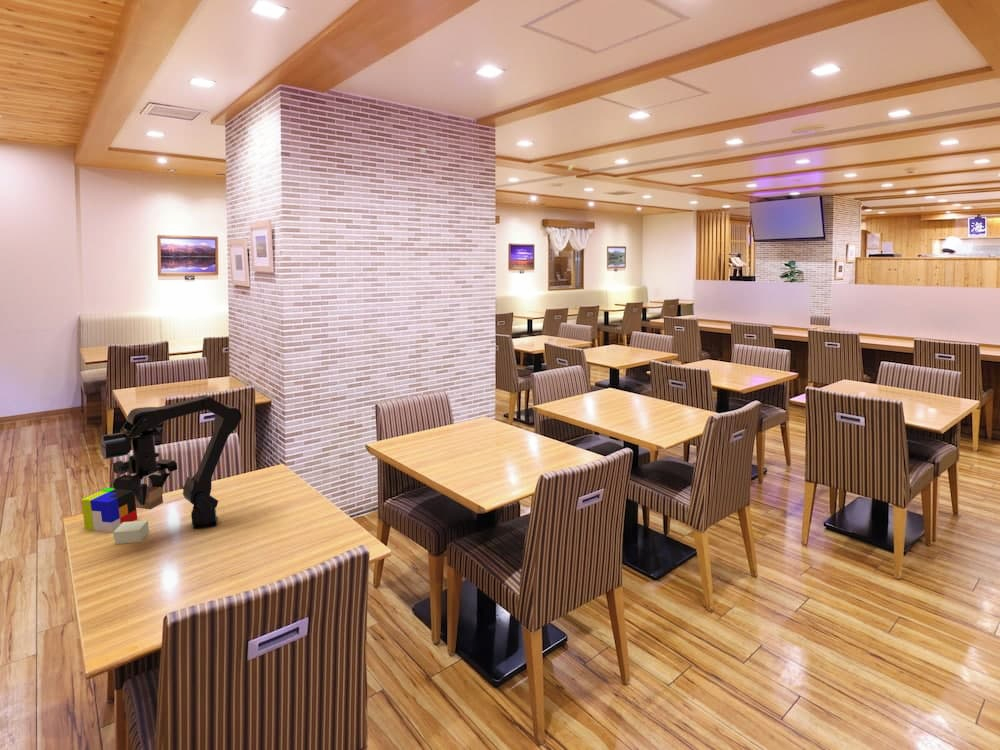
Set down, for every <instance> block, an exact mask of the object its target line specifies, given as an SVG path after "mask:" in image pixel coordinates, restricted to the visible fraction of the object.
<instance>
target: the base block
mask: <svg viewBox="0 0 1000 750" xmlns="http://www.w3.org/2000/svg"><path fill="white" fill-rule="evenodd" d="M149 529H150V528H149V521H148V520H135V521H133V522H123V523H122V524H121V525H120V526H119V527H118V528H117V529H116V530H115V531H114V532H112V534H113V541H114V544H115V545H118V544H119V545H120V544H131V543H134V544H135V543H141V542H142V541H143V540H144V539H145V538H146V536H147V535H148V534H149V533H150V530H149Z"/></svg>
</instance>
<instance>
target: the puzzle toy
mask: <svg viewBox="0 0 1000 750" xmlns="http://www.w3.org/2000/svg"><path fill="white" fill-rule="evenodd" d="M80 502H81V508H82V515H83V516H82V517H83V522H84V530H86V529H87V530H86V531H96V532H104V533H105V532H106V533H113V532H114V531H115V530H116V529H117V528H118V527H119V526H120V525H121V524H122V523H123V522H133V521H137V520H138V512H137V508H136V503H135V495H134V493H133V492H132V491H131V490H122V489H114V487H105V488H103V489H102V490H99V491H98V492H95V493H92V494H90V495H88V496H86V497H84V498H81V499H80Z"/></svg>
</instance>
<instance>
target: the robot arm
mask: <svg viewBox="0 0 1000 750" xmlns="http://www.w3.org/2000/svg"><path fill="white" fill-rule="evenodd" d="M202 411H208V412H210V413H212V414H214V418H213V419H214V420H213V433H212V435H211V438H210V439H209V442H208V445H207V447H206V450H205V452H204V455H203V457H202V459H201V460H200V464H199V466H198V468H197V471H196V473H195V474H194V475H193V476H192V477H189V476H187V477H186V480H185V483H184V486H182V488H181V489H182V490H183V492H182V495H183V497H184V499H185V500H187V501H188V502H189V503H190V504H192V510H191V514H190V515H191V523H192V526H193V529H203V528H210V527H216V526H217V524H218V516H217V509H216V508H217V507H218V504H219V500H218V499H216V498H215V497H213V495H211V492H212V478H213V475H214V473H215V470H216V468H217V465H218V463H219V461H220V458H221V456H222V453H223V451H224V449H225V447H226V444H227V441H228V438H229V436H230V435H231V434H232V433H233V432H234V431H235V430H236V429H237V427H238V426H239V424H240V423H241V421H242V419H243V414H242V412H241V411H240V409H238V408H236V407H234V406H231V405H229V404H222V403H221V402H219V401H218V400H215V399H214V398H213V397H211V396H209V395H206V394H203V395H200V396H197V397H194V398H190V399H185V400H183V401H179V402H178V401H177V402H174V403H171V404H166V405H162V406H144V407H137V408H136V407H135V408H133V409H131V410H130V411H129V412H128V415H127V419H126V421H125V422H124V424H123V426H122V427H121V429H120V431H119V432H116V433H107V434H102V435H101V440H100V444H99V446H100V452H101V456H102V458H103V459H104V460H108V459H113V458H118V457H123V456H128V455H129V454H130V453H131V451H132V455H129V457H128V460H126V461H122V460H118V461H116V462H113V463H112V471H113V472H114V474H119V475H120V476H119V477H116V478H115V479H114V480H113V481H112V488H114V489H122V490H131V491H132V492H133V493H134V495H135V496H136V498H137V500H138V502H139V503H140V505H144V503H145V498H146V490H147V486H148V483H144V479H146V478H148V479H149V480H150V483H151V486H155V487H162V488H163V487H164V485H165V483H166V481H167V479H168V477H169V476H170V475H171V473H172V472H174V471H176V470H178V462H176V460H173V459H163V458H161V459H159V460H157V458H158V457H160V452H156V446H155V445H156V443H155V437H156V436H159V435H162V434H163V433H162V431H160V430H158V429H157V428H156V427H158V426H160V425H161V424H163V423H164V422H166V421H169V420H172V419H176V418H179V417H185V416H187V415H190V414H194V413H198V412H202ZM166 469H167V471H168V472H167V471H166ZM125 473H128V474H125ZM129 474H130V475H129Z"/></svg>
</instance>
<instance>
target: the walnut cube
mask: <svg viewBox="0 0 1000 750" xmlns="http://www.w3.org/2000/svg"><path fill="white" fill-rule="evenodd" d="M135 503H136V509H142V510H143V509H145V510H152V509H154V508H156V507H158V506H160V505H162V504H164V497H163V487H155V486H152V485H147V490H146V498H145V503H144V505H140V503H139V502H138V500H137V498H136V496H135Z"/></svg>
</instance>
